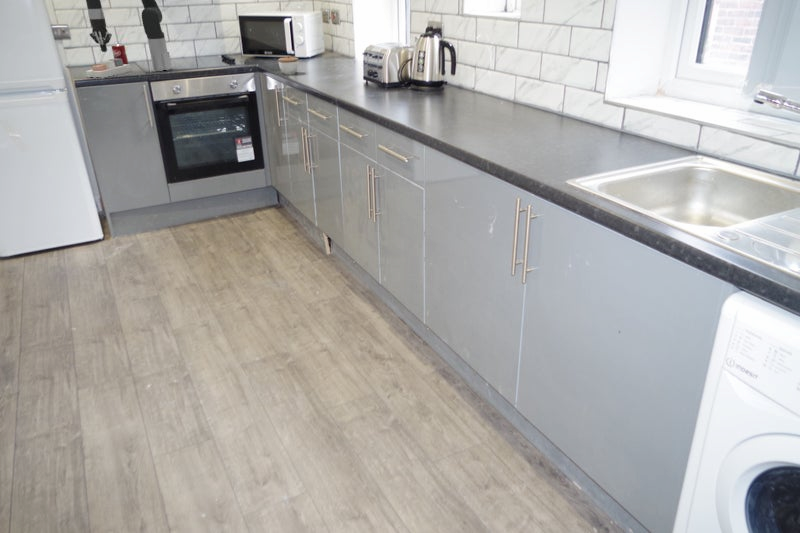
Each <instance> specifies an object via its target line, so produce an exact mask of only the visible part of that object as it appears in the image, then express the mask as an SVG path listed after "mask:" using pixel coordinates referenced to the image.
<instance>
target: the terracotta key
mask: <svg viewBox="0 0 800 533" xmlns="http://www.w3.org/2000/svg"><path fill="white" fill-rule="evenodd" d="M91 68H92V69H91V70H93V71H103V70H107V67H106V65H101V64H96V65H92V66H91Z"/></svg>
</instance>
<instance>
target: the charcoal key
mask: <svg viewBox="0 0 800 533" xmlns="http://www.w3.org/2000/svg"><path fill="white" fill-rule="evenodd" d="M108 61H114V64H115V67H119V66H123V61H122V59H114V58H112V59H111V58H110V59H108Z"/></svg>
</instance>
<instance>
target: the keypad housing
mask: <svg viewBox="0 0 800 533" xmlns="http://www.w3.org/2000/svg"><path fill="white" fill-rule="evenodd" d="M128 72H132V68H131V64H129V63H128V64H123V66H119V67H115V68H111V69H107V70H103V71H93V69H90V70H89V69H88V70H86V71H85V74H86V78H87V77H107V78H109V77H108V76H110V77H114V76H117V74H118V75H121V74H125V73H128ZM113 75H114V76H113Z"/></svg>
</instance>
